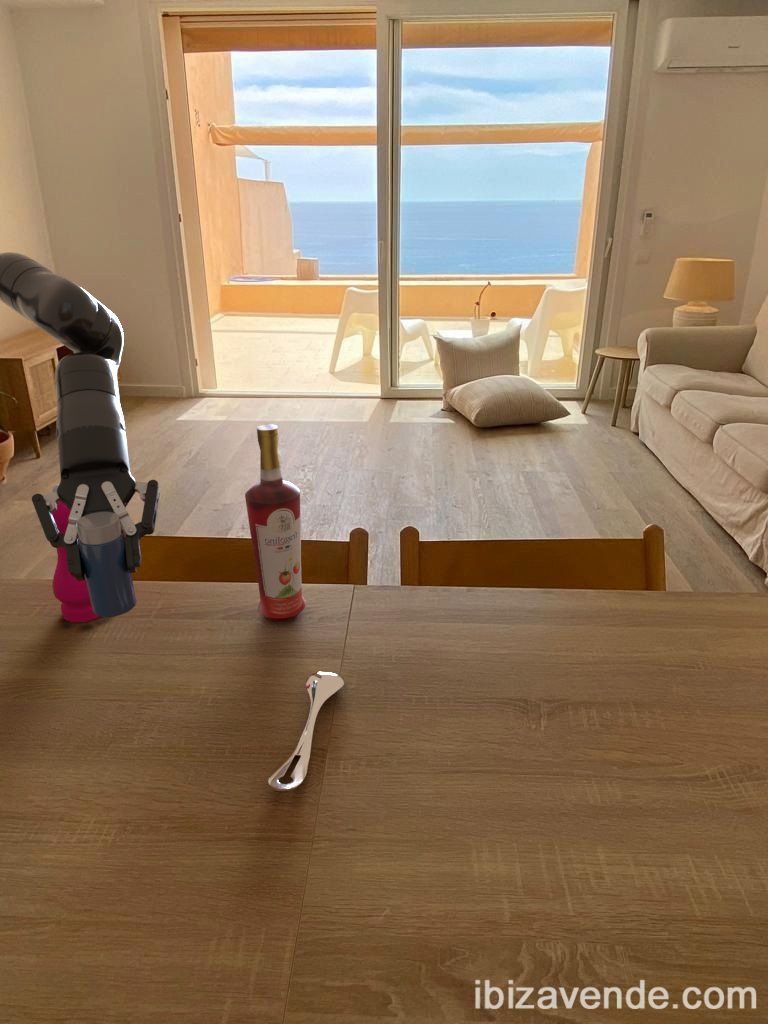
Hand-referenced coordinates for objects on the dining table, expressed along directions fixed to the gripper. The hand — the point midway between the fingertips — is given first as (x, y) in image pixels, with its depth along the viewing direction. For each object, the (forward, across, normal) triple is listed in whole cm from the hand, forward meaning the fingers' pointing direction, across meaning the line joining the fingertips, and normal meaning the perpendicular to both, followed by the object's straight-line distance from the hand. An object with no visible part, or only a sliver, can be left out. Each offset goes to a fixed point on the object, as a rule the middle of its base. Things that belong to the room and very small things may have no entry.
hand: (106, 574), depth 77 cm
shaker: (+2, 0, -5) cm, 5 cm away
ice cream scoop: (+21, -19, -3) cm, 29 cm away
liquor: (+3, -21, -22) cm, 30 cm away
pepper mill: (-4, +7, -28) cm, 29 cm away
